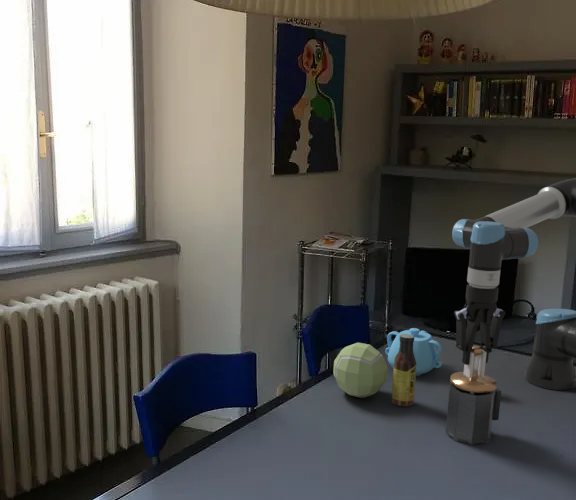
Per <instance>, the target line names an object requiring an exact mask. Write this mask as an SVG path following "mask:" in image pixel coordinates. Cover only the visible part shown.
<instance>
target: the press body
mask: <svg viewBox="0 0 576 500" xmlns="http://www.w3.org/2000/svg"><path fill="white" fill-rule="evenodd" d="M448 392H449V393H448V402H447V403H448V404H447V413H446V426H445V433H446V435H447V436H448V437H449V438H451V440H454V442H459V443H461V444H465V445H469V446H474V445H475V446H476V445H477V446H481V445H485V444H488V443H489V441H490V439H491V433H492V424H493V421H499V416H500V406H501V401H502V400H501V398H502V390H501V389H499V388H497V387H496V389H495V390H494V391H491V392H487V393H475V392H474V394H470V392H469V391H465V390H461V389H459V388H457V387H455V386H453V385H452V384H451V383H450V384H449V391H448Z"/></svg>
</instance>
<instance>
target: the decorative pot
mask: <svg viewBox="0 0 576 500" xmlns="http://www.w3.org/2000/svg"><path fill="white" fill-rule="evenodd" d="M401 334H410V335H413V336H414V342H413V353H414V357H415V360H416V377H420V376H421V375H424V374H426V373H429V372H431V371H432V370H433V369H434V368H435V369H440V368H441V367H442V361H441V360H439V358H440V355H441V354H442V350H443V349H442V345H441V344H440V343H439V341H437V340H434V339H433V337H432V335H431V334H430V333H428V332H427V331H425V330H420V329H419V328H416V327H412V328H409V329H406V330H402V331H400V332H398V331H396V330H395V331H394V330H393V331H391V332H389V333H388V334H387V335H386V341H387V345H388V347H386V348H385V351H384V352H385V355H386V356H387V362H388V365H390V367H391V368H392V369H394V362H395V361H394V360H395V357H396V355H397V354H398V352H399V351H400V350H399V348H400V335H401ZM394 335H395V338H394V340H393V341H392V336H394Z"/></svg>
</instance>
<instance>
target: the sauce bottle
mask: <svg viewBox="0 0 576 500" xmlns="http://www.w3.org/2000/svg"><path fill="white" fill-rule="evenodd" d="M413 342H414V336H413V335H410V334H401V335H400V348H399V350H400V351H399V352H398V354H397V355H396V357H395V360H394V361H395V362H394V368H393V372H392V387H391V390H392V391H391V401H392V403H393V405H395V406H398V407H404V408H406V407H410V406H412V405H413V404H414V399H415V391H416V389H415V388H416V387H415V386H416V377H417V376H416V360H415V357H414V353H413Z"/></svg>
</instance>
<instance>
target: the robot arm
mask: <svg viewBox="0 0 576 500" xmlns="http://www.w3.org/2000/svg"><path fill="white" fill-rule="evenodd" d="M562 217H573V218H574V217H575V218H576V177H573V178H569V179H565V180H561V181H558V182H555V183H552V184H550V185H548V186H545V187H543V188H541V189H540V190H539V191H538V192H537V194H535V195H533V196H530V197H528V198H525V199H523V200H521V201H518V202H516V203H514V204H511V205H509V206H506V207H504V208H501V209H499V210H496V211H494V212H492V213H489V214H487V215H485V216H482V217H480V218H477V219H473V220H472V219H469V218H467V219H466V218H462V219H459V220H458V221H457V222H455V223H454V225H453V228H452V232H451V234H452V240H453V243H454V244H456V245H457V246H459V247H463V248H465V249H469V262H468V268H467V275H466V281H467V285H466V289H465V290H466V291H465V304H464V305H463V308H462V309H461V310H455V311H454V312H453V314H454V317H455V320H456V321H455V323H456V324H455V326H456V327H455V329H456V331H455V332H456V333H455V336H456V338H455V339H456V341H455V347H456V348H457V349H459V350H461V351H462V359H461V360H462V361H461V362H462V363H463V365H464V366H463V372H464V373H463V374H464V375H465V376H467V377H468V378H472V373H473V363H474V353H473V352H472V348H473V346H474V342H475V338H476V334H477V329H478V327H480V328H479V329H480V331H479V333H480V347H482V354H481V355H480V360H479V370H478V375H479V376H480V377H484V375H485V371H486V370H485V369H486V364H488V362H489V355H490V353H492V352H493V349H497V348H498V342H499V338H500V332H501V326H502V322H503V319H504V317H505V316H506V311H505V310H503V309H501V308H498V306H497V302H498V299H499V297H498V296H499V287H498V286H499V285H500V277H501V269H502V261H504V260H513V259H520V260H521V259H524V258H527V257H531V256H533V255H534V254H535V253H536V252H537V250H538V248H539V238H538V235H537V234H536V232H535V231H534V230H532V228H530V227H532V226H535V225H537V224H538V223H541V222H543V221H546V220H548V219H551V220H555V219H559V218H562ZM532 350H533V351H532V355H531V357H530V358H529V362H528V365H527V366H526V367H525V369H524V376H523V377H524V379H525V380H526V381H527V382H529V383H530V384H532V385H534V386H536V387H540V388H544V389H548V390H555V391H556V390H557V391H567V390H568V391H569V390H572V389H574V388H575V387H576V371H575V365H574V360H573V359H576V310H574V309H567V308H545V309H542V310H540V311H539V312H538V313H537V317H536V321H535V331H534V340H533V348H532Z"/></svg>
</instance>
